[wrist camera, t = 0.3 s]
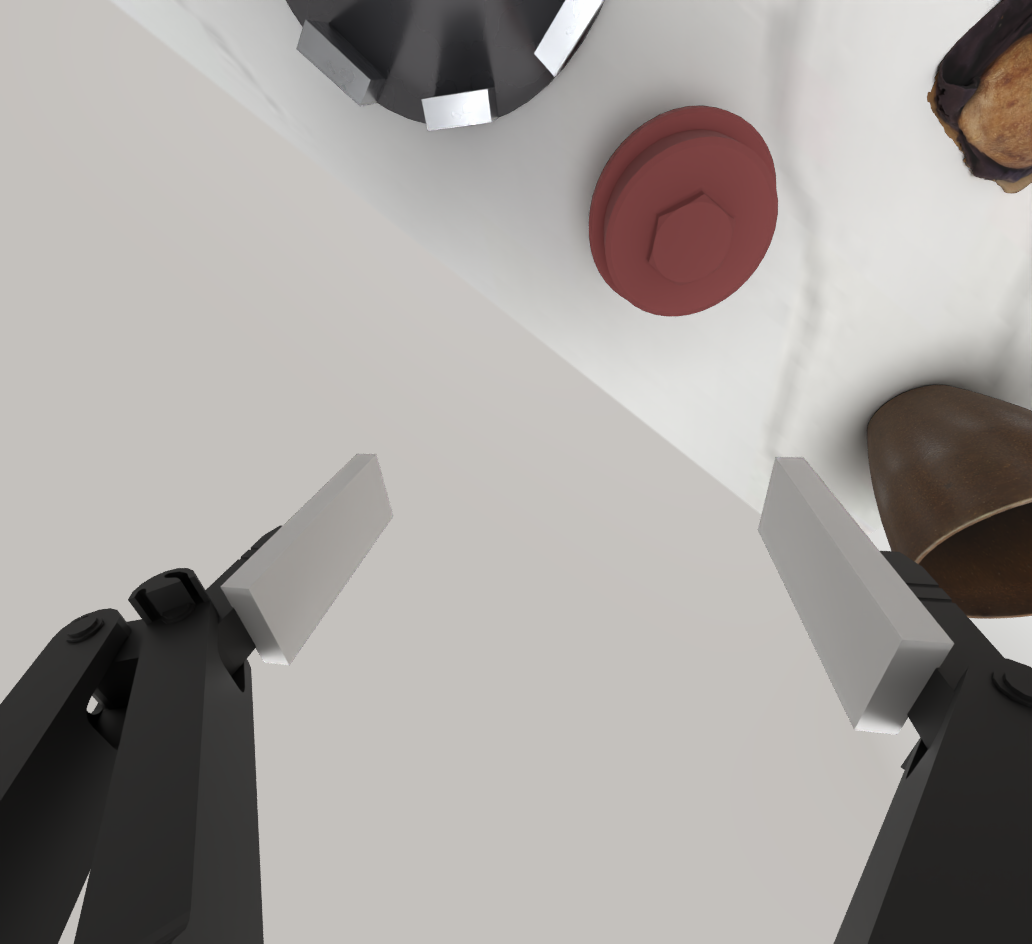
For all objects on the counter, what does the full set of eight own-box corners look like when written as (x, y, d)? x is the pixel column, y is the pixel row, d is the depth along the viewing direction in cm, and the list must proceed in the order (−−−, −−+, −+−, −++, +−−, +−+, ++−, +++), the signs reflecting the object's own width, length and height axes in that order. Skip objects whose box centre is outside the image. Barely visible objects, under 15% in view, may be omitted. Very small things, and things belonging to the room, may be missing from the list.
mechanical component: (709, 270, 34) (579, 262, 34) (763, 101, 27) (599, 94, 27) (754, 345, 25) (578, 332, 25) (852, 120, 18) (607, 109, 18)
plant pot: (1006, 452, 42) (1169, 603, 30) (826, 492, 48) (904, 631, 36) (1039, 315, 33) (1283, 450, 22) (814, 384, 39) (911, 520, 28)
